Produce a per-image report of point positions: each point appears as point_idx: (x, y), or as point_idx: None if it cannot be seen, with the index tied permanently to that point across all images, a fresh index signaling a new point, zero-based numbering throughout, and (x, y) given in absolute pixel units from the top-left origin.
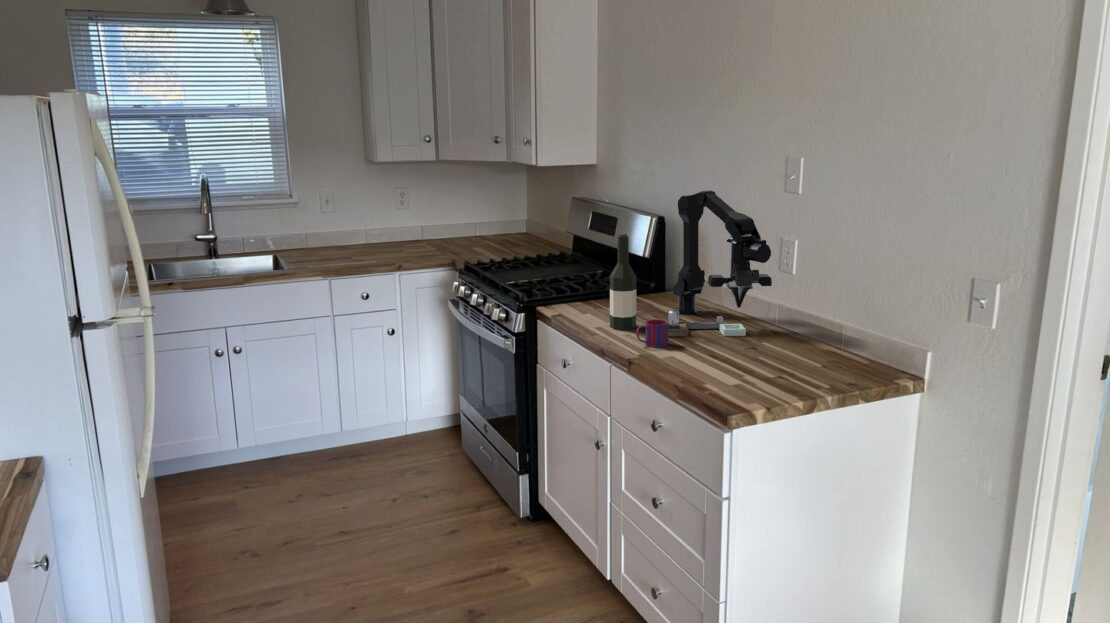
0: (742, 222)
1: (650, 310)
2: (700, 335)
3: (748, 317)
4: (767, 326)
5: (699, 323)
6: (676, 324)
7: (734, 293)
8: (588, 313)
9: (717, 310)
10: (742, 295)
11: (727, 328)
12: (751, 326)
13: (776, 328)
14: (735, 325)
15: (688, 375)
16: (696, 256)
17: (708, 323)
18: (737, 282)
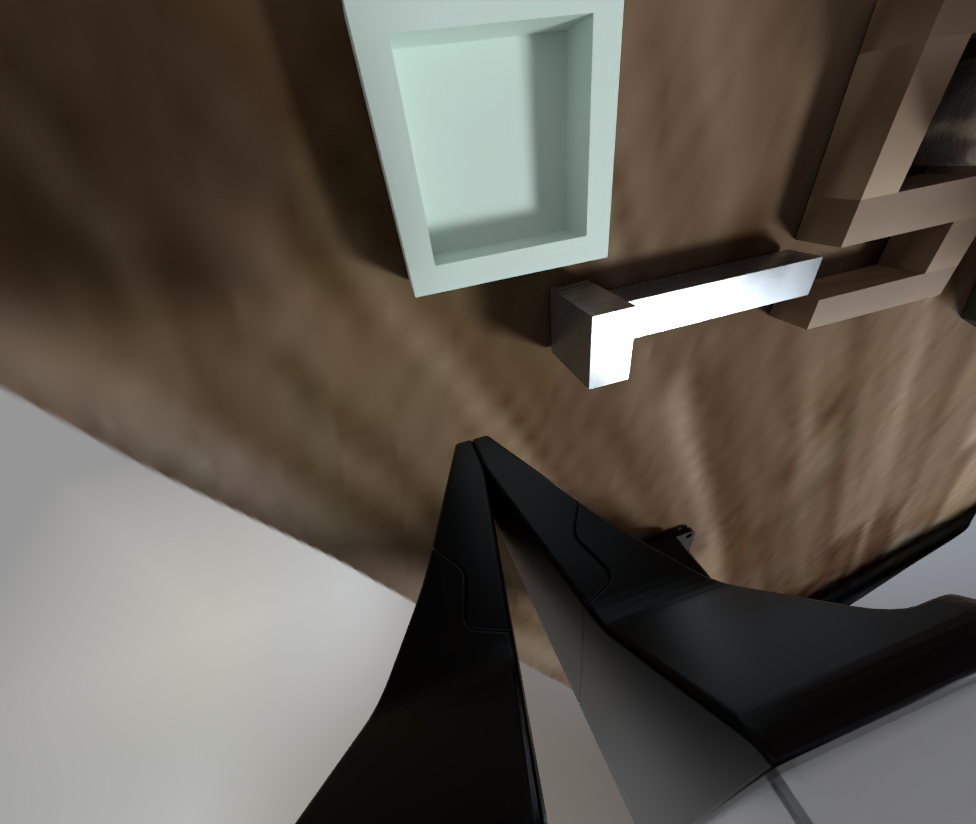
0: None
1: (760, 537)
2: (771, 39)
3: (380, 574)
4: (203, 437)
5: (732, 287)
6: None
7: (661, 561)
8: (961, 451)
9: (524, 612)
10: (474, 579)
11: (531, 236)
12: (335, 411)
13: (90, 396)
14: (468, 257)
15: None
16: None
17: (674, 295)
18: None
